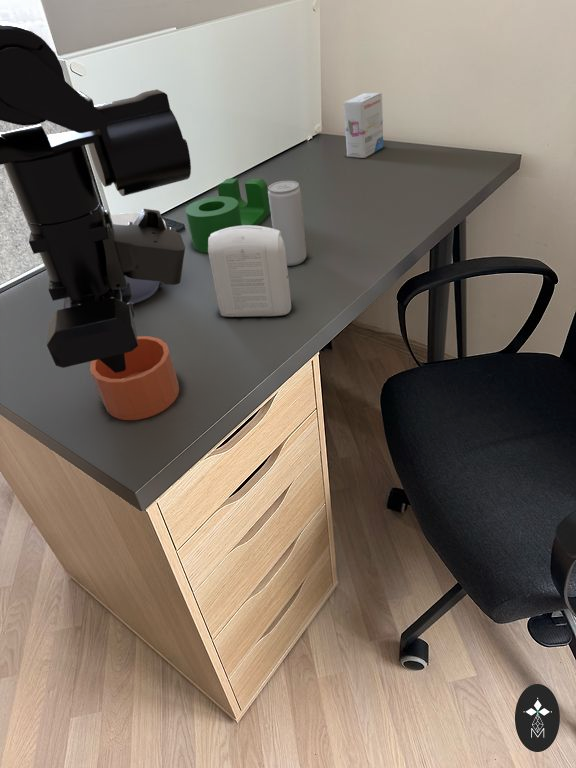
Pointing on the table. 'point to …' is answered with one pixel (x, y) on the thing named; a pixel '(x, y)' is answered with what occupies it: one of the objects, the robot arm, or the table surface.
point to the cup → (138, 381)
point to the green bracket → (227, 210)
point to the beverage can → (288, 219)
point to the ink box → (364, 124)
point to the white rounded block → (250, 271)
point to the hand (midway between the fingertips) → (120, 369)
